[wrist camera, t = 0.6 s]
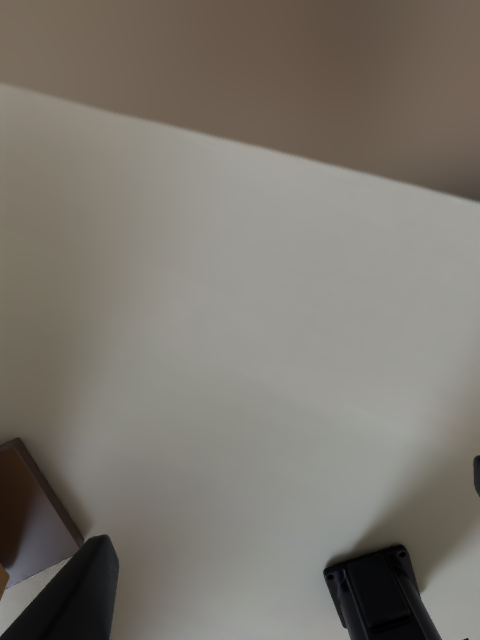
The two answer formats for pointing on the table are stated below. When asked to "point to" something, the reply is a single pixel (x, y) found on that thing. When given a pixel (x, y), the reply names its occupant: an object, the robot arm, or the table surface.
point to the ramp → (31, 518)
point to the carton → (3, 580)
